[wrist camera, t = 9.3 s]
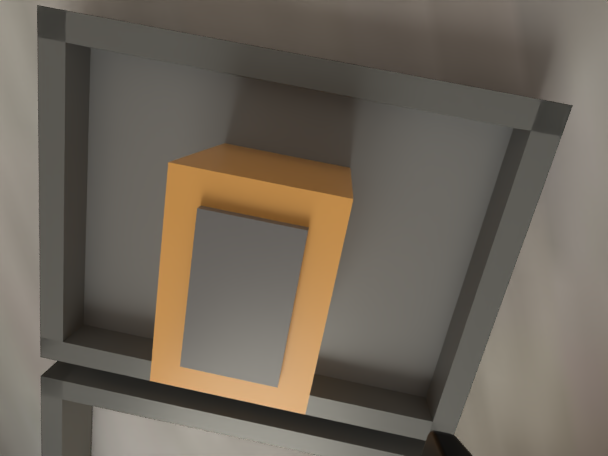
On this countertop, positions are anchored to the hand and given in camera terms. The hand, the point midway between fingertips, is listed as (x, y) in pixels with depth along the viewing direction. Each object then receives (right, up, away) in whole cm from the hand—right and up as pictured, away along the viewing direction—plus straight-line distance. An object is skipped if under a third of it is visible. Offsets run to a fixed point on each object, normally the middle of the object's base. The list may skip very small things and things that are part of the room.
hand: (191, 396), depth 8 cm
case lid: (+1, +3, +10) cm, 11 cm away
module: (+1, +3, +9) cm, 10 cm away
